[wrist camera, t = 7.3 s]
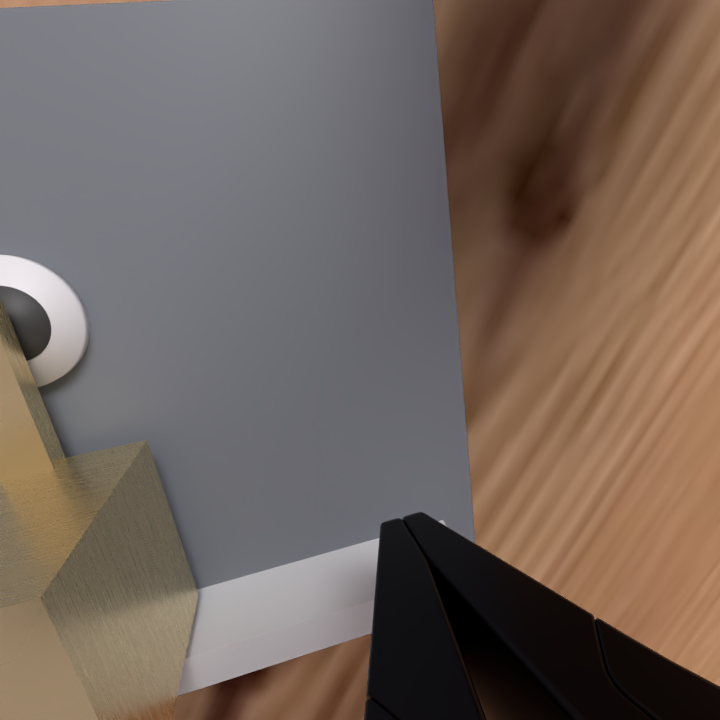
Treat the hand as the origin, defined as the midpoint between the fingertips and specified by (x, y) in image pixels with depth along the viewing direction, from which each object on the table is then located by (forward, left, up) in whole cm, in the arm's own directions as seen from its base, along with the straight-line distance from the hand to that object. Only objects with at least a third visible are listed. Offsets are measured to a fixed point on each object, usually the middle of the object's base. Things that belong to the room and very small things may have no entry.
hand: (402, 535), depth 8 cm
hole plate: (+8, -3, -5) cm, 10 cm away
